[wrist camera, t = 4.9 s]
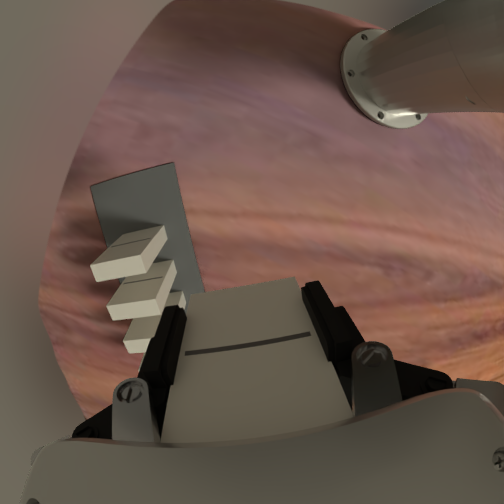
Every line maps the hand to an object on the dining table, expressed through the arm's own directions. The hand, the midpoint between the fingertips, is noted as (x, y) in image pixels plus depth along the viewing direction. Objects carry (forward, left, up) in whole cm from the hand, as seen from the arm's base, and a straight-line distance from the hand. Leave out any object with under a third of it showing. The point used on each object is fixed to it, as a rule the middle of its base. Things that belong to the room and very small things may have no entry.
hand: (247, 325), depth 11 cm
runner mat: (+10, +6, -19) cm, 22 cm away
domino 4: (0, 0, -2) cm, 2 cm away
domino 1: (+10, 0, -19) cm, 21 cm away
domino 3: (+10, +8, -19) cm, 23 cm away
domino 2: (+10, +4, -19) cm, 22 cm away
